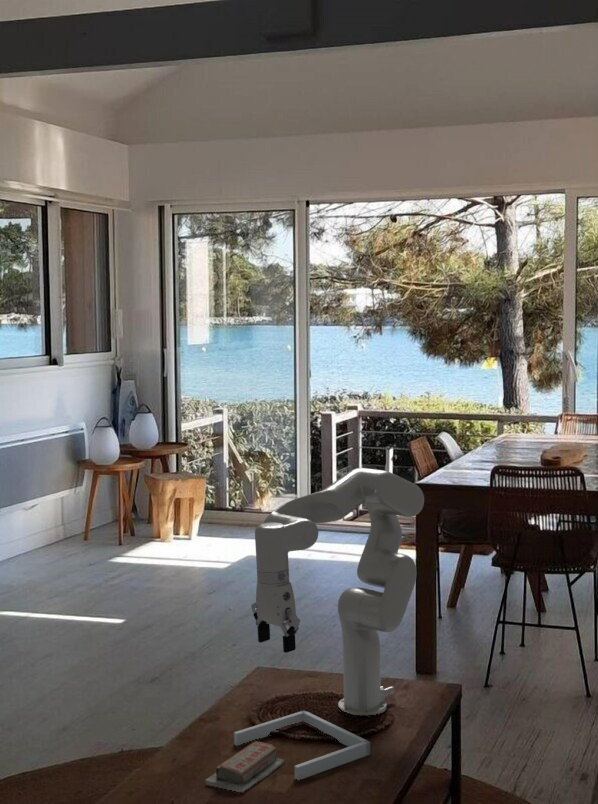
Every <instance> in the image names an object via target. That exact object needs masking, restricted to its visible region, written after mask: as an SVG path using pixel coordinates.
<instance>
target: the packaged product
mask: <svg viewBox="0 0 598 804" xmlns="http://www.w3.org/2000/svg"><path fill="white" fill-rule="evenodd" d="M277 756H278V753H277V747H276V746H274V744H271V743H266V742H263V741H257V740H254V741H252V742H251V743H249V744H248V745H247V746H245V747H244V748H242V749H241V750H239V751H238V752H237V753H234V754H233V755H232V756H231V757H229V758H227V759H226V760H224V761H223V762H222V763H220V764H218V765H217V766H216V769H215V773H213V774H212V775H210V776H209V777H207V778H205V784H206V786H210V787H213V786H214V787H213V788H216V787H219V788H218V789H220V788H223V789H222V790H224V789H227V790H226V791H229V790H232V791H231V792H233V791H236V792H244V791H245V790H246V789H248V788H249V789H251V787H253V786H255V785H256V784H258V783H259V782H261V781H262V780H263V779H265V778H266V777H267V776H270V774H271V773H273V772H274V771H275V770H276V769H277V768H279V767H280V766H282V765H283V764H285V762H286V760H285V759H283V758H279V757H277ZM260 780H261V781H260ZM258 781H259V782H258ZM257 782H258V783H257ZM255 783H256V784H255ZM254 784H255V785H254ZM249 789H248V790H249ZM236 792H235V793H236ZM244 793H245V792H244Z"/></svg>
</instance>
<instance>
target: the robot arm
mask: <svg viewBox="0 0 598 804" xmlns="http://www.w3.org/2000/svg"><path fill="white" fill-rule="evenodd" d="M424 503H425V495H424V493H423V491H422V489H421V487H419V485H417V484H416V483H413V482H412V481H410V480H407V479H405V478H403V477H401V476H399V475H397V474H395V473H394V472H393V473H392V472H390V471H388V470H383V469H375V468H367V467H357V468H353V469H351V470H350V471H348V472H346V474H344V475H343V476H341V477H339V478H338V479H337V480H335V481H333V483H330V485H328V486H327V487H324V489H322V490H320V491H316V492H313V493H310V494H307V495H304V496H300V497H297V498H294V499H291V500H289V501H287V502H285V503H283V504H282V505H280V506H278V508H276V509H275V510H273V511H272V512H271V513H270V514H269V515H267V516H266V518H265V519H264V520H263V521H264V522H262V523H260V524H258V525H257V526H256V527H255V530H254V539H255V540H254V543H255V561H256V564H255V565H256V576H257V577H256V579H257V581H256V592H255V602H254V603H252V604H251V605H250V606H251V610H252V612H253V614H252V615H253V617H254V619H255V625H256V627H257V640H258V643H264V642H268V641H270V640H271V629H270V628H271V627H270V626H271V625H273V626H276V627H279V628H281V630H282V633H283V636H282V647H283V653H285V654H286V653H287V654H288V653H290V652H292V651H295V650H296V649H297V648H296V635H297V632H298V630H299V626H300V623H301V619H300V617H298V615H297V609H296V600H295V595H294V594H295V593H294V589H293V585H292V582H290V568H289V567H290V565H289V564H290V563H289V553H290V552H295V551H296V552H297V551H305V550H307V549H310V548H311V547H313V546H314V545H315V544H316V542H317V541H318V538H319V528H318V526H317V524H323V523H324V524H327V523H333V522H337V521H340V520H342V519H344V518H345V517H346V516H348V515H349V514H350V513H352V512H353V511H355V510H356V509H357V508H358V507H360V506H362V505H363V504H365V506H366V509H367V511H368V515H369V519H370V530H369V532H368V533H369V534H368V536H367V539H366V542H365V545H364V548H363V549H362V554H361V556H360V559H359V562H358V564H357V567H356V574H357V577H358V579H359V580H360V582H362V583H364V584H366V585H369V586H373V587H377V588H381V589H383V592H382V591H378V590H373V589H369V588H365V587H361V586H359V587H358V586H356V587H350V588H347V589H345V590H344V591H343V592H342V593H341V594H340V596H339V598H338V600H337V601H338V603H337V613H338V617H339V622H340V626H341V627H340V628H341V635H342V665H343V666H342V672H343V676H342V677H343V698H342V699H340V700H339V701H338V703H337V708H338V707H339V708H340V709H341V710H342V711H344V712H347V713H350V714H353V715H375V716H377V715H376V714H378V715H380V713H381V714H382V713H384V712H386V710H387V709H388V704H387V703H388V702H387V700H385V698H386V697H387V696H391V695H393V694H395V688H394V686H388V687H386V688H385V687H384V686H383V685H381V653H380V652H381V643H380V636H379V633H378V632H382V633H392V632H395V630H397V629H398V627H400V625H401V624H402V621H403V618H404V616H405V614H406V610H407V607H408V605H409V602H410V600H411V596H412V594H413V591H414V588H415V585H416V582H417V581H416V580H417V575H418V574H417V566H416V565H417V564H416V562H415V561H414V559H413V558H412V557H410V556H409V555H408V554H404V553H400V552H398V551H399V550H400V546H401V543H402V538H403V531H402V530H403V529H402V527H401V523H400V521H399V518H398V516H400V517H404V518H405V517H406V518H411V517H415V516H417V515H418V514H420V513H421V511H422V510H423V508H424V505H425V504H424ZM287 626H288V627H289V628H287Z"/></svg>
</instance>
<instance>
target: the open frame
mask: <svg viewBox="0 0 598 804" xmlns="http://www.w3.org/2000/svg"><path fill="white" fill-rule="evenodd" d="M302 721H304V722H306V723H308V724H310V725H312V726H314V727H316V728H318V729H319V730H321V731H323V732H324V733H327V734H329V735H331V736H333V737H335V738H336V739H337V740H338V741H339V742H338V741H337V742H338V743H340V744H342V745H344V746H346V747H343V748H342V749H338V750H336V751H333V752H330V753H327V754H325V755H322V756H319V757H316V758H312V759H310V760H308V761H307V760H306V761H305V762H302V763H299V764H296V765H294V779H295V780H296V779H297V780H296V781H301V780H303V779H306V778H309V777H311V776H314V775H317V774H319V773H322V772H323V773H324V772H325V771H327V770H331V769H333V768H336V767H339V766H342V765H345V764H347V763H351V762H354V761H356V760H358V759H361V758H364V757H366V756H369V755H371V741H369V740H367V739H365V738H363V737H361V736H359V735H358V734H357V735H356V734H355V733H352V732H351V731H348V730H346V729H344V728H343V727H339V726H338V725H336V724H334V723H333V722H329V721H327V720H325V719H323V718H322V717H319V716H317V715H315V714H313V713H312V712H309V711H306V710H301V711H298V712H295V713H291V714H289V715H285V716H282V717H281V716H280V717H278V718H275V719H272V720H269V721H266V722H262V723H259V724H256V725H254V726H250V727H246V728H244V729H239V730H237V731H234V732H233V742H234V743H233V744H234V745H235V746H236V747H239V746H242V745H244V744H243V743H245V744H248V743H250V742H249V741H251V742H253V741H252V740H254V741H256V740H255V739H257V740H260V739H264V738H266V737H269V736H270V735H269V734H270V732H271V731H273V730H276V729H279V728H281V727H284V726H287V725H291V724H295V723H299V722H302ZM268 735H269V736H268ZM259 738H260V739H259ZM247 742H248V743H247ZM241 744H242V745H241ZM238 745H239V746H238ZM300 779H301V780H300Z"/></svg>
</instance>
